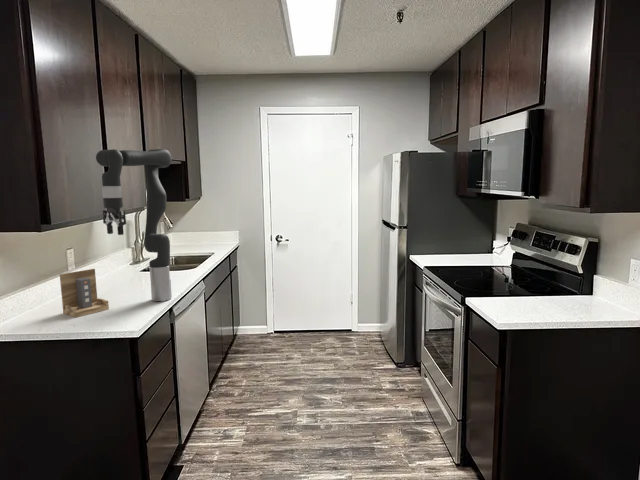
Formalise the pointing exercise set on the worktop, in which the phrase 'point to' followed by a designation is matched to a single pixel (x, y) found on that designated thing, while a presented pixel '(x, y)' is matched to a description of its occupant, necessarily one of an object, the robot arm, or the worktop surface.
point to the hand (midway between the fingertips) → (115, 234)
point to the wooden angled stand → (71, 294)
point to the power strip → (83, 293)
